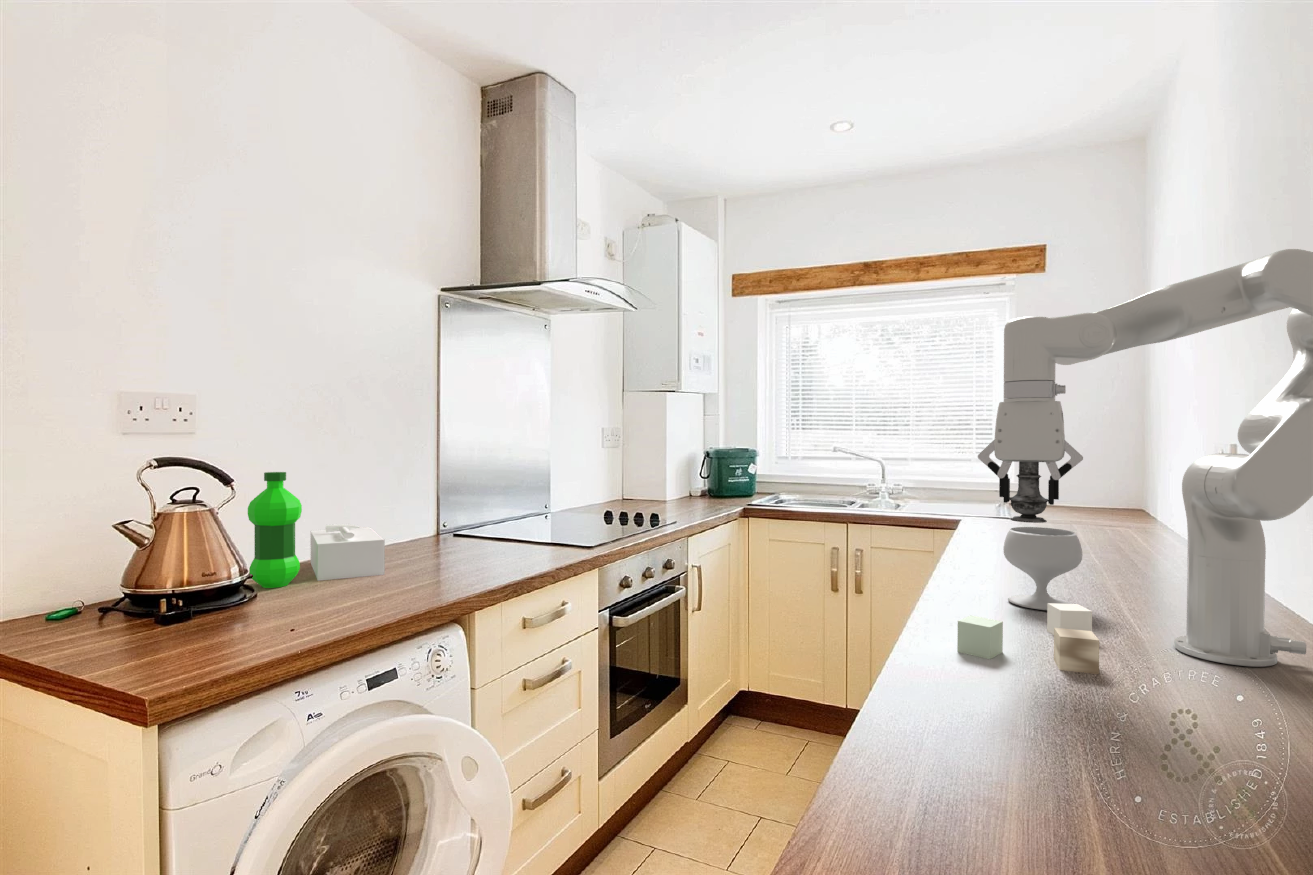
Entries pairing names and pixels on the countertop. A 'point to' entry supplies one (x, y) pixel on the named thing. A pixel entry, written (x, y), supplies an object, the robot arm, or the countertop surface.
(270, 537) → the plastic bottle
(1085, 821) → the countertop surface
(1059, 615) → the cream painted cube
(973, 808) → the countertop surface
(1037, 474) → the salt shaker
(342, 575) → the tissue box
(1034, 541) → the chalice
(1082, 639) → the beech cube
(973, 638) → the sage painted cube
